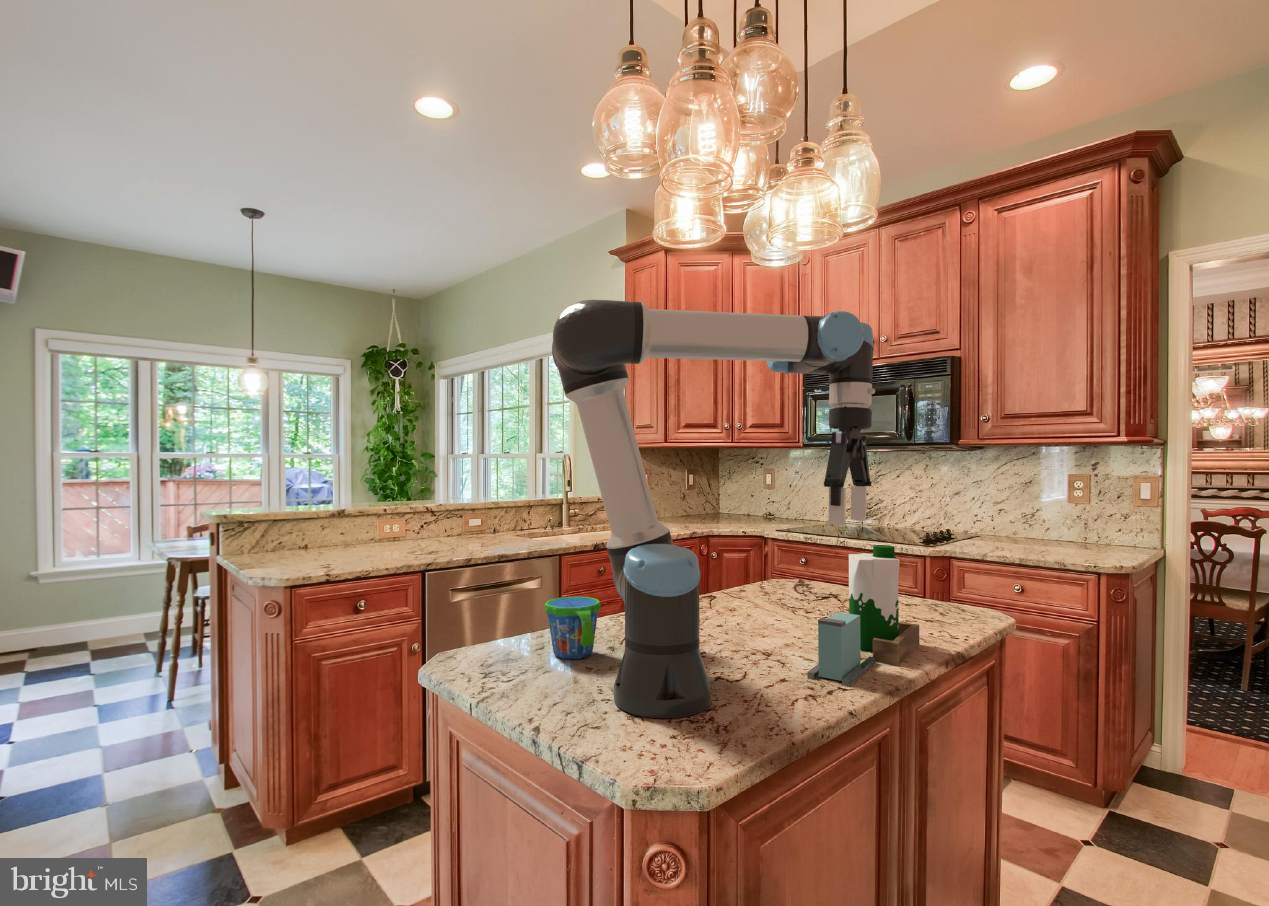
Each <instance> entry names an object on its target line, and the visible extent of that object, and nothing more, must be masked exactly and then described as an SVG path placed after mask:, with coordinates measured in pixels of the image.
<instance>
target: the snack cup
mask: <svg viewBox="0 0 1269 906" xmlns="http://www.w3.org/2000/svg"><path fill="white" fill-rule="evenodd" d="M601 605H602V604H601V602H600V600H599V599H598V598H594V597H589V596H563V597H557V598H552V599H549V600H547V601H546V602H545V604H544V610H545V612H546V614H547V618H548V620H547V621H548V628H549V633H550V639H551V646H552V650H553V654H554V656H555V657H557V658H560V659H564V660H565V659H566V660H567V659H569V660H571V659H572V660H575V659H583V658H586V657H589V656H590V655H591V654H593V652H594V651H593V650H594V643H595V637H596V629H597V621H598V613H599V611H600V610H601V608H602V606H601Z"/></svg>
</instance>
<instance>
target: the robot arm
mask: <svg viewBox="0 0 1269 906" xmlns="http://www.w3.org/2000/svg"><path fill="white" fill-rule="evenodd" d="M551 345H552V346H551V355H552V360H553V362H554V364H555V367H556V368H557V371H558V374H559V377H560V381H561V384H562V388H563V391H564V394H565V395H564V396H565V398H566V399H568V400H569V401H571V402H572V403H573V402H574V403H575V404H576V406H577V411H578V414H579V417H580V423H581V426H582V429H583V433H584V437H585V439H586V444H587V448H588V451H589V455H590V458H591V459H590V460H591V461H592V466H593V469H594V473H595V477H596V480H597V481H596V482H597V484H598V488H599V492H600V496H601V499H602V503H603V507H604V509H605V510H604V511H605V513H606V514H605V515H606V517H607V521H608V525H609V529H610V533H611V534H610V537H609V539H608V542H607V543H606V545H605V547H606V550H607V553H608V554H607V555H608V557H609V560H610V565H611V569H612V579H613V584H614V587H615V589H616V592H617V593H618V595H619V596H620V598H621V599H622V601H623V603H624V653H623V656H622V659H621V660H620V661H621V662H620V665H619V668H618V672H617V674H616V678H615V681H614V684H613V685H614V687H613V702H614V704H615V705H616V706H617V708H620V709H621V710H622V711H624V712H627V713H629V714H632V715H635V716H639V717H645V718H653V719H676V718H684V717H688V716H693V715H696V714H699V713H700V712H703V711H704V710H707V708H708V707H709V706H710V705H711V703H712V685H711V682H710V681H709V676H708V673H707V670H706V668H705V664H704V660H703V657H702V654H701V651H700V580H701V571H700V570H701V569H700V565H699V564H700V563H699V558H698V556H697V555H696V553H695V552H694V551H693V550H691V549H689V548H687V547H684V546H678V545H676V544H674V542H673V538H672V535H671V532H670V531H671V530H670V528H669V527H667V526H666V525H664V524H662V523H661V522H660V521H659V519H658V518H659V517H658V516H657V512H656V507H655V504H654V500H653V496H652V494H651V493H652V492H651V489H650V485H649V482H648V478H647V474H646V470H645V467H644V463H643V460H642V456H641V452H640V449H639V445H638V441H637V437H636V433H635V430H634V426H633V422H632V419H631V415H630V412H629V411H630V410H629V407H628V403H627V399H626V396H625V393H624V391H625V389H626V387H627V385H628V383H629V381H630V378H629V375H628V372H627V367H626V364H627V365H628V364H629V365H630V364H632V365H641V364H642V363H643V362H644V361H645V360H646V359H648V358H649V359H650V358H651V359H678V360H679V359H683V360H684V359H685V360H688V359H689V360H721V361H723V360H725V361H728V360H729V361H757V362H758V361H762V362H766V364H767V367H768V368H769V370H770V371H772V373H773V372H774V373H782V374H785V375H788V374H803V375H804V374H807V375H808V374H810V375H823V376H825V375H826V376H827V375H828V376H829V390H828V393H829V394H828V395H829V396H828V397H829V398H828V404H829V406H830V407H832V408H830V410H829V411H828V427H829V428H830V429H833V430H838V431H832V432H831V444H830V449H829V455H828V459H827V465H826V466H827V467H826V472H825V476H824V481H823V487H824V488H829V489H828V521H827V522H828V525H835V526H846V504H847V503H846V502H847V501H846V499H847V498H846V497H847V495H846V494H847V488H846V487H844V486H845V483H846V479H847V475H848V471H850V475H851V480H852V484H853V485H851V486H850V487H851V489H850V490H851V491H850V520H852V521H864V522H865V521H866V520H867V489H868V488H867V487H872V480H871V475H870V469H869V467H870V466H869V459H868V452H867V451H868V450H867V449H868V448H867V435H866V434H862V433H861V431H862V430H869V429H871V427H872V422H873V421H872V420H873V417H872V416H873V411H872V410H871V408H869V407H871V405H872V402H873V397H872V396H873V395H874V394H875V393H876V389H875V388H873V366H874V365H873V364H874V363H873V362H874V351H875V350H874V349H875V346H874V334H873V328H872V327H871V325H870V324H868V323H867V322H866V323H865V322H862V321H861V320H860V319H859V318H858V317H857V316H856V315H854V314H853V313H851V312H849V311H846V310H840V311H838V310H837V311H834V312H830V313H829V312H828V313H827V314H825V315H800V314H799V315H798V314H797V315H795V314H778V313H777V314H774V313H773V314H772V313H770V314H769V313H754V312H753V313H750V312H749V313H748V312H729V311H728V312H726V311H725V312H723V311H706V310H705V311H700V310H682V309H678V310H677V309H659V308H657V309H656V308H655V309H654V308H649V307H648V306H647V305H646V304H645V303H644V302H642V301H627V300H626V301H625V300H612V299H611V300H610V299H585V300H581V301H578V302H575V303H573V304H571V305H569V306H567V307H566V308H565V309H563V311H562V312H561V313H560V314H559V316H558V317H557V318H556V321H555V323H554V326H553V332H552V344H551ZM861 434H862V435H861Z"/></svg>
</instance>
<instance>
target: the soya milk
mask: <svg viewBox="0 0 1269 906" xmlns="http://www.w3.org/2000/svg"><path fill="white" fill-rule="evenodd" d="M895 550H896V548H895V546H894V545H889V544H888V545H887V544H875V545H873V546H872V553H865V552H862V553H848V614H854V615H860V652H864V651H865V652H873V639H874V638H878V639H884V640H890V641H893V640H894V639H895V638H897V637H898V635H899V622H900V619H899V617H900V615H899V603H900V602H899V576H900V575H899V574H900V563H901V560H900V559H899V558H897V556H895Z"/></svg>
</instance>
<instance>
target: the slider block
mask: <svg viewBox="0 0 1269 906" xmlns="http://www.w3.org/2000/svg"><path fill="white" fill-rule="evenodd" d="M817 624H818V625H817V627H818V628H817V631H818V633H817V635H818V636H817V637H818V640H817V641H818V642H817V643H818V644H817V645H818V647H817V648H818V652H817V654H818V658H817V659H818V660H817V661H818V662H817V663H818V664H819V676H818V677H821V678H825V679H830V680H835V681H838V682H840V681H841V682H842V679H843V678H844V677H845V676H846V675H848V674H849V673H850V672H851V671H852V670H854V669H855V668H856V667H857V666H859V665H860V664H861V663H862V661H861V650H860V615H854V614H849V613H847V612H840V611H838V612H836V613H834V614H832V615H831V616H829V617H820V618H819V619H817Z"/></svg>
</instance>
